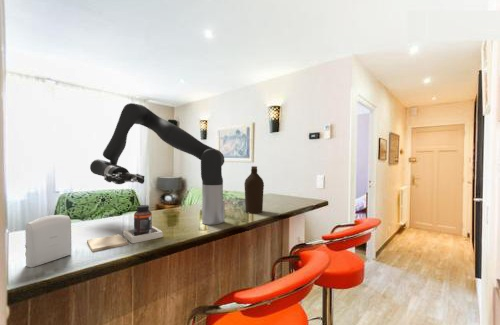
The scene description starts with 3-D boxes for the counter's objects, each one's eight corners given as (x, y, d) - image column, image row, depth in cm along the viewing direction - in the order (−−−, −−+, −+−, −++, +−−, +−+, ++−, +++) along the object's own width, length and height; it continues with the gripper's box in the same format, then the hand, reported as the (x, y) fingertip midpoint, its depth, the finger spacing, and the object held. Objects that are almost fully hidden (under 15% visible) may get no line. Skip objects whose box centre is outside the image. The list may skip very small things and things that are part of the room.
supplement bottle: (155, 236, 89) (155, 205, 89) (139, 240, 84) (140, 208, 84) (145, 233, 93) (145, 203, 93) (130, 237, 88) (130, 206, 88)
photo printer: (30, 269, 62) (30, 220, 62) (22, 266, 64) (22, 219, 63) (74, 254, 71) (74, 213, 71) (65, 252, 73) (65, 211, 73)
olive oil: (252, 214, 125) (253, 166, 125) (240, 211, 134) (240, 166, 133) (267, 212, 132) (267, 166, 132) (255, 209, 140) (255, 166, 140)
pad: (119, 236, 88) (119, 234, 88) (127, 244, 80) (127, 242, 80) (86, 242, 82) (86, 240, 82) (92, 251, 74) (92, 249, 74)
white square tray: (152, 230, 96) (152, 225, 96) (162, 237, 88) (162, 231, 88) (123, 235, 89) (123, 230, 89) (131, 243, 81) (131, 237, 81)
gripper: (99, 164, 101) (114, 171, 90) (133, 166, 112) (150, 172, 101) (97, 182, 101) (112, 191, 91) (132, 182, 112) (148, 189, 102)
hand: (132, 181), depth 96 cm, fingers open, 8 cm apart
